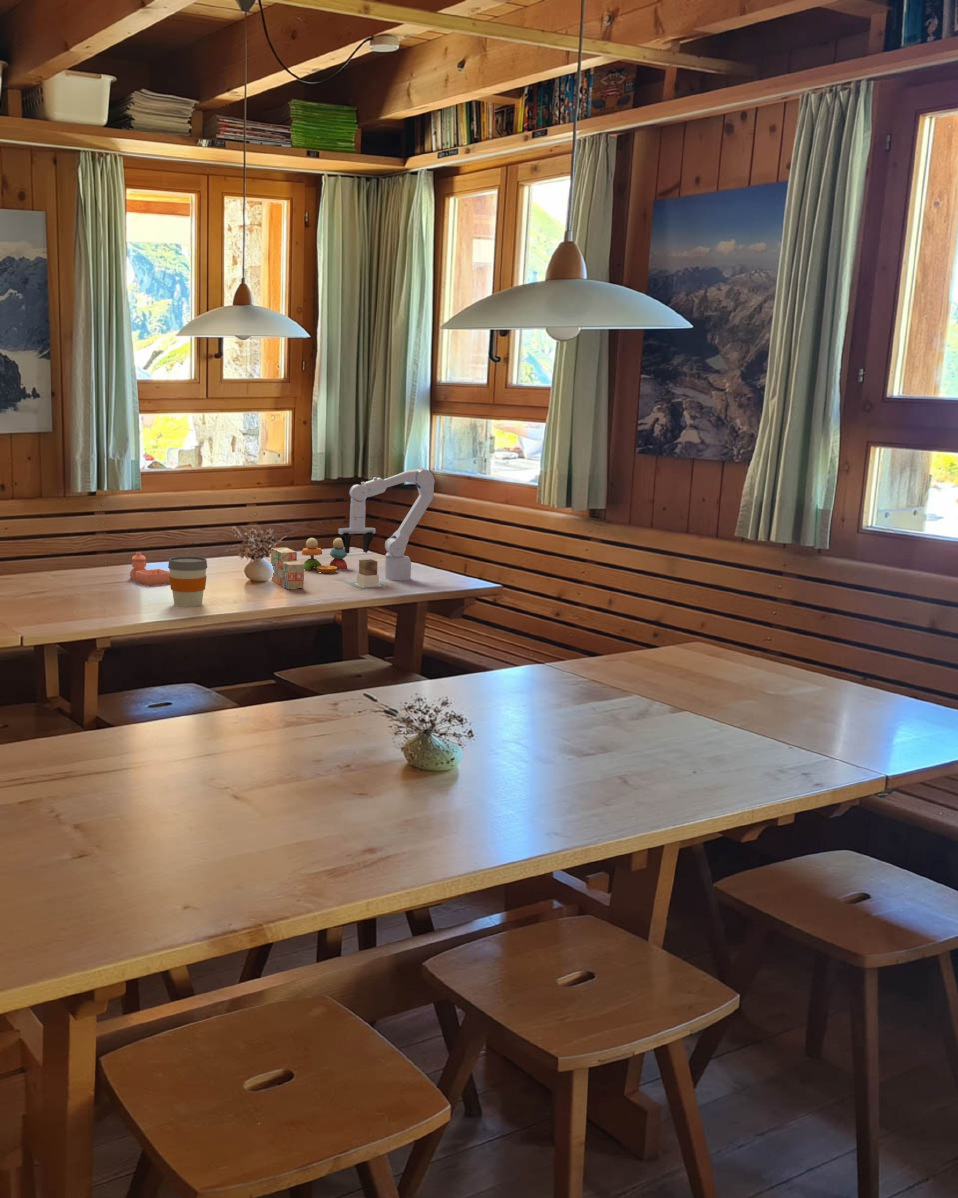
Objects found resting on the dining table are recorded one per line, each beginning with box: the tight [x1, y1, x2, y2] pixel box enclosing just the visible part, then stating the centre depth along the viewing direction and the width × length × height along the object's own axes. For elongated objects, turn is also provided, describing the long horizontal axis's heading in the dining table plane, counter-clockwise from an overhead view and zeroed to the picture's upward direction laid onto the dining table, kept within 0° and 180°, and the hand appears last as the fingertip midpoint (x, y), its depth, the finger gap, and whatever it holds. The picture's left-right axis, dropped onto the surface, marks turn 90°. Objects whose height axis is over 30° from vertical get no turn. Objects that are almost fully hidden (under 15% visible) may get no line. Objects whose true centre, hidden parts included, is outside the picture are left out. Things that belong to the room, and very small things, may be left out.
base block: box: [356, 572, 380, 587], centre depth 436 cm, size 6×6×4 cm
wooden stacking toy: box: [301, 537, 348, 574], centre depth 467 cm, size 18×17×12 cm
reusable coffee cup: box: [167, 555, 208, 608], centre depth 390 cm, size 13×13×15 cm
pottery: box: [129, 551, 170, 587], centre depth 428 cm, size 18×10×10 cm, turn 46°
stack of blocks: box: [270, 547, 305, 590], centre depth 432 cm, size 21×6×12 cm, turn 26°
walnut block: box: [358, 558, 378, 576], centre depth 435 cm, size 5×5×5 cm
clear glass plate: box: [345, 581, 390, 590], centre depth 436 cm, size 12×14×1 cm
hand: (356, 552), depth 446 cm, fingers open, 7 cm apart
